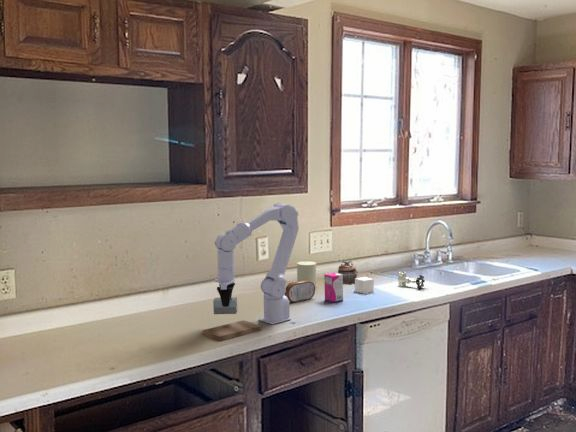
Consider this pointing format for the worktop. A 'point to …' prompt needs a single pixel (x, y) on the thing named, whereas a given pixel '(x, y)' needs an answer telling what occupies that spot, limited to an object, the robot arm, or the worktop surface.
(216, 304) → the block
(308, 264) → the can
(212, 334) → the stand
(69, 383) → the worktop surface
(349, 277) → the cupcake
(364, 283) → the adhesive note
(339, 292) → the supplement box
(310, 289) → the tin
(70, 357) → the worktop surface
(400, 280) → the valve
